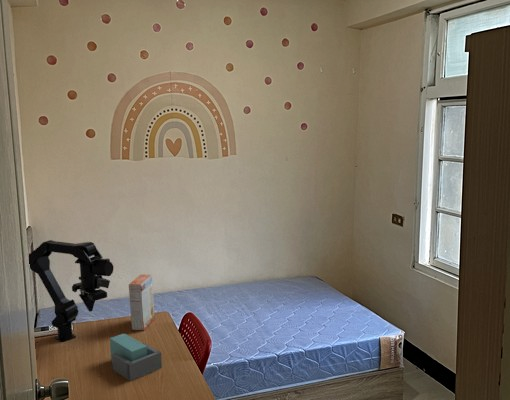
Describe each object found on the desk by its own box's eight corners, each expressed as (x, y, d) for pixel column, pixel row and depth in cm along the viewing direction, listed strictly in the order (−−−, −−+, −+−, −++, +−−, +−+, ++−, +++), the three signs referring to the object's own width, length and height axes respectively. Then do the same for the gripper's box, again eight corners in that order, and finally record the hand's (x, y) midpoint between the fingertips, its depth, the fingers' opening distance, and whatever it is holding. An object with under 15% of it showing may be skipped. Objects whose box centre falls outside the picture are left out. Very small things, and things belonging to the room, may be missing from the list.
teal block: (111, 360, 187) (109, 338, 186) (125, 355, 191) (124, 333, 190) (133, 375, 176) (132, 351, 174) (148, 369, 180) (146, 346, 179)
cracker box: (142, 318, 228) (140, 273, 225) (155, 318, 227) (152, 274, 224) (130, 330, 214) (127, 283, 211) (144, 331, 213) (141, 284, 210)
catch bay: (112, 369, 180) (111, 354, 179) (143, 357, 189) (143, 342, 188) (130, 381, 172) (129, 364, 171) (161, 367, 181) (161, 352, 180)
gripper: (118, 274, 199) (120, 311, 201) (95, 265, 212) (97, 300, 214) (92, 280, 191) (94, 319, 193) (70, 271, 204) (72, 307, 206)
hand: (90, 311), depth 202 cm, fingers closed
